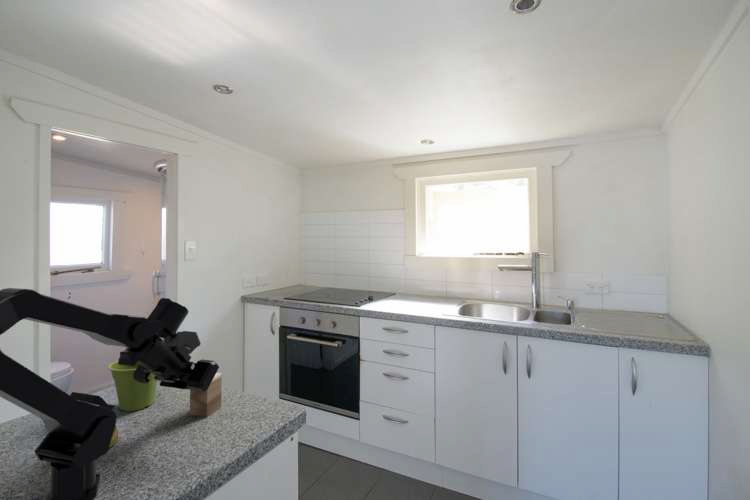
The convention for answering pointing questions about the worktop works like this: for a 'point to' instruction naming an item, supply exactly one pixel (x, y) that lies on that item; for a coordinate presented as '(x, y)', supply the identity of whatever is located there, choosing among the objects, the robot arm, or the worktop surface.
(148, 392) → the plant pot
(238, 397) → the worktop surface
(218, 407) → the walnut block
